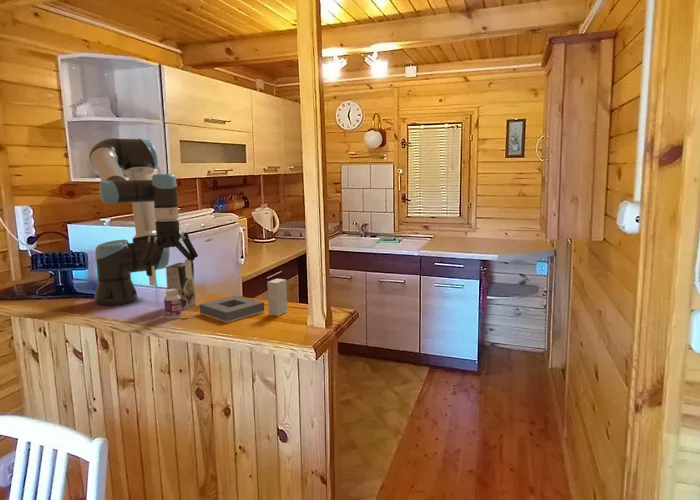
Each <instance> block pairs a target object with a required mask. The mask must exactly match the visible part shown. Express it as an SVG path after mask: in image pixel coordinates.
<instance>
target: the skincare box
mask: <svg viewBox="0 0 700 500" xmlns="http://www.w3.org/2000/svg"><path fill="white" fill-rule="evenodd" d="M287 294H288V293H287V279H284V278H275V279H272V280H269V281H267V304H268V306H267V308H268V309H267V310H268V315H269V316H274V315H275V316H276V317H280V316H281V315H283V314H285V313H287V312H288V296H287Z"/></svg>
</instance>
